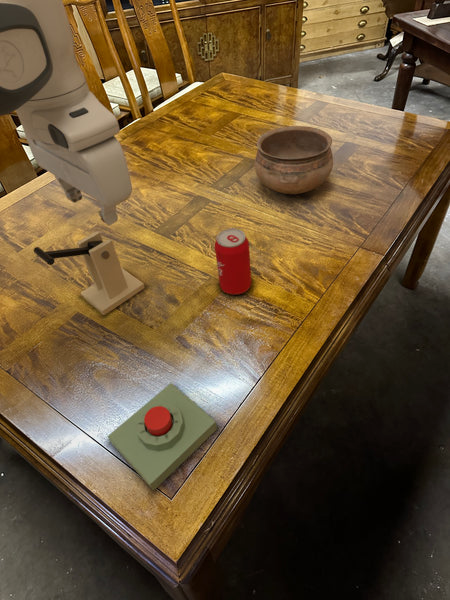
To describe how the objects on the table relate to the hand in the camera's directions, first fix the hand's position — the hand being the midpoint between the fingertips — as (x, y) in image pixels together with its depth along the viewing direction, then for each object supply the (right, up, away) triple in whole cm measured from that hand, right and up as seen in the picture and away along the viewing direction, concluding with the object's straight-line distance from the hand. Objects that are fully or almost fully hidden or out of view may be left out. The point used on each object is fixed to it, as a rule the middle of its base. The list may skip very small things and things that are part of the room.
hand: (92, 210), depth 60 cm
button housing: (+10, -33, +1) cm, 35 cm away
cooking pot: (+37, +16, +47) cm, 61 cm away
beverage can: (+21, -10, +22) cm, 33 cm away
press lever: (-8, -6, +14) cm, 16 cm away
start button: (+10, -30, -2) cm, 32 cm away
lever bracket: (-3, -11, +24) cm, 27 cm away
